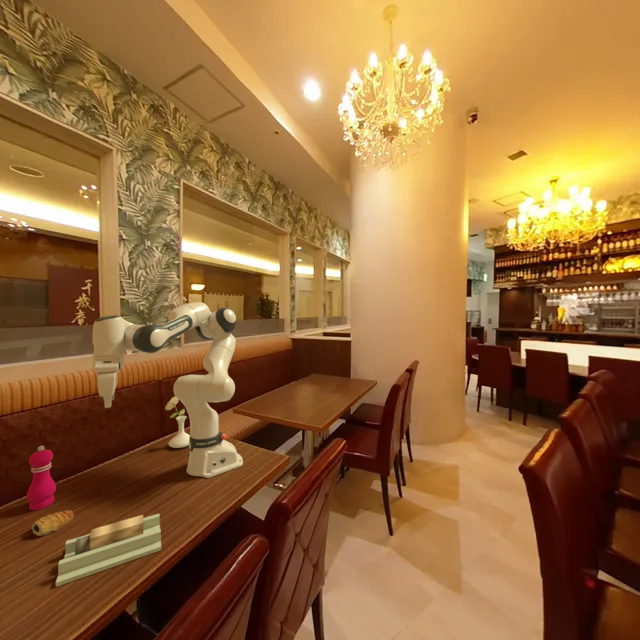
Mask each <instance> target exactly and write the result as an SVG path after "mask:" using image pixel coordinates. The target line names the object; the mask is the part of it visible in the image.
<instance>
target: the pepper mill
mask: <svg viewBox="0 0 640 640" xmlns="http://www.w3.org/2000/svg"><path fill="white" fill-rule="evenodd" d="M45 447H46V446H44V445H40V446H38V447H37V451H34V452H32V454H31V455H30V456H29V459H28V464H29V466H31V470H30V472H31V473H32V481H31V484H30V486H29V487H28V490H27V493H26V499H27V500H28V501H30V502H29V503H28V508H29V510H30V511H39V510H42V509H45V508H47V507H49V506H50V505H52V504H54V502H55V495H54V494H55V492H56V490H57V486H56V483H55V481H54V479H53V478H52V476H51V472H50V470H51V468H52V460H53V458H54V453H53V451H52V450H51V449H47V448H45Z"/></svg>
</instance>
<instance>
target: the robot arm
mask: <svg viewBox="0 0 640 640" xmlns="http://www.w3.org/2000/svg"><path fill="white" fill-rule="evenodd" d="M237 321H238V319H237V315H236V313H235V311H234V310H233V309H231V308H230V307H225V306H224V307H221V308H218V309H217V310H215V311H212V312H211V309H210V307H209V306H208V305H207V304H206V303H204V302H200V301H199V302H198V301H196V302H195V301H194V302H189V303H186V304H182V305H179V306H177V307H175V308H173V309H171V310H170V311H169V314H168V321H167V322H165V323H163V324H135V323H132V322H130V321H127V320H126V319H124V318H123V317H122V316H121V315H114V314H113V315H105V316H101V317H99V318H98V317H97V319H96V320H95V321H94V322H93V327H92V345H93V352H92V370H93V371H94V373H95V374H96V383H97V390H98V391H97V392H98V394H99V397H101V398H103V401H104V408H105V409H109V408H111V407H112V405H113V404H112V401H114V400H115V391H116V388H117V386H118V381H119V379H118V378H119V377H118V376H119V373H121V369H123V368H125V351H128V352H129V351H131V352H132V351H133V352H141V353H142V352H143V353H147V354H154V353H157V352H159V351H161V349H162V348H164V347H165V346H166V345H167V344H168V342H170V341H171V340H173V339H175V338H176V337H178V336H180V335H182V334H184V333H186V332H188V331H190V330H192V329H195V330H196V334H197V335H198V336H199V337H200V338H201V339H202V340H204V341H209V340H212V343H211V345H210V347H209V349H208V351H206V354H205V356H204V359H203V360H202V361H203V362H202V366H203V368H204V369H205V370H206V372H208V373H207V374H187V375H182V376H179V377H178V378H177V379H176V381H175V382H174V384H173V389H172V392H173V394H174V397H175V396H176V398H178V399H179V400H178V401H180V402H181V403H182V404H183V406H184V407H185V409H186V412H187V414H188V419H189V428H190V429H189V430H190V434H189V435H190V437H189V445H188V448H189V458H188V463H187V467H186V474H187V475H190V476H192V477H193V476H194V477H203V478H206V479H209V478H213V477H214V476H218V475H220V474H223V473H227V472H229V471H231V470H234V469H237V468H241V467H242V466H243V464H244V460H243V457H242V455H240V453H238V451H237V448H236V446H234V444H232V443H231V442H230V441H227V440H226V439H227V435H226V434H224V432H222V431H221V430H219V429H220V428H219V427H220V426H219V425H220V424H219V421H220V420H219V414H218V412H217V411H216V410H215V409H213V408H212V407H211V406H210V404H209V403H222V402H229V401H230V400H231V399H232V398H233V396H234V394H235V391H236V385H235V382H234V379H232V378H231V377H230V376H229V372H228V369H229V366H230V364H231V361H232V358H233V357H234V353H235V349H236V344H237V340H236V337H235V336H234V335H233V334H232V333H234V332H235V330H236V325H237V323H238V322H237Z"/></svg>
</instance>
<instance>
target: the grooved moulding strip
mask: <svg viewBox="0 0 640 640" xmlns="http://www.w3.org/2000/svg"><path fill="white" fill-rule="evenodd" d="M160 516H161V515H160V513H157V514H153V515H149V516H146V517H143V530H144V534H141V535H138V536H135V537H132V538H129V539H126V540H123V541H119V542H116V543H113V544H110V545H107V546H104V547H101V548H97V549H94V550H91V551H88V552H85V553H82V554H79V555H75V545H76V540H77V539H78V538H82V537H85V536H88V535H91V533H89V534H85V535H82V536H78V537H76V538H72V539H67V540H66V542H65V546H64V547H65V549H64V552H65V554H64V558H63V559H61V560H59V561H58V564H57V569H58V573H57V577H56V580H55V587H56V588H57V587H60V586H63V585H66V584H69V583H71V582H72V583H73V582H74V581H75V582H76V581H78V580H80V579H83V578H86V577H89V576H91V575H95V574H98V573H100V572H102V571H106V570H108V569H111V568H114V567H117V566H120V565H123V564H126V563H129V562H132V561H134V560H137V559H140V558H143V557H146V556H149V555H151V554H154V553H157V552H160V551H162V531H161V524H160V523H161V522H160V521H161V520H160V519H161V517H160Z"/></svg>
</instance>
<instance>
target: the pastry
mask: <svg viewBox="0 0 640 640" xmlns="http://www.w3.org/2000/svg"><path fill="white" fill-rule="evenodd" d="M74 516H75V515H74V512H73V511H72V510H71V509H70V510H69V509H68V510H64V511H57V512H54V513H48V514H47V515H46V516H42V517H40V518H39V519H38V520H35V521H34V523H33V524H32V526H31V531H32V533H33V534H34V535H36V536H38V537H41V536H42V537H43V536H48V535H50V534H51V533H53V532H54V531H58V530H59V529H61V528H63V527H64V526H65V525H67V524H68V523H70V522H71V521H72V520H73V519H74Z"/></svg>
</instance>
